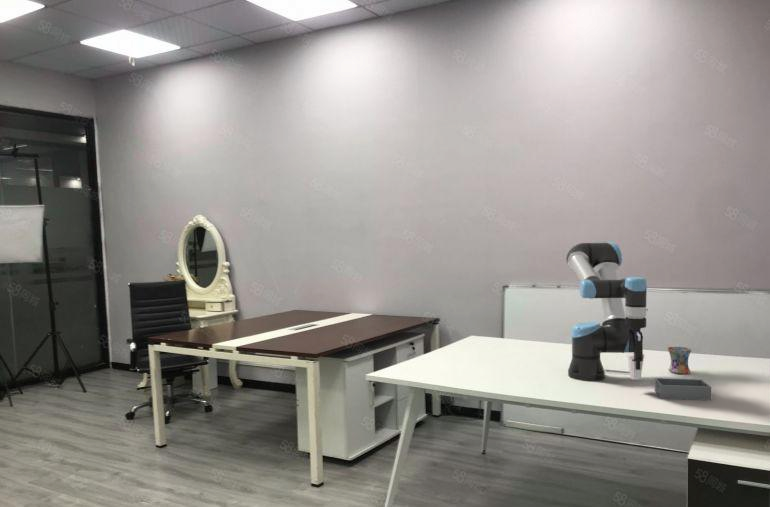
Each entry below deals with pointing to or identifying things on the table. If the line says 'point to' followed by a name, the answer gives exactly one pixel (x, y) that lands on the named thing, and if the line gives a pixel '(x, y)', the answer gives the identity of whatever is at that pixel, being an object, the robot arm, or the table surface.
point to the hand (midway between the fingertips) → (635, 374)
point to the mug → (679, 360)
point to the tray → (682, 389)
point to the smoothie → (630, 358)
